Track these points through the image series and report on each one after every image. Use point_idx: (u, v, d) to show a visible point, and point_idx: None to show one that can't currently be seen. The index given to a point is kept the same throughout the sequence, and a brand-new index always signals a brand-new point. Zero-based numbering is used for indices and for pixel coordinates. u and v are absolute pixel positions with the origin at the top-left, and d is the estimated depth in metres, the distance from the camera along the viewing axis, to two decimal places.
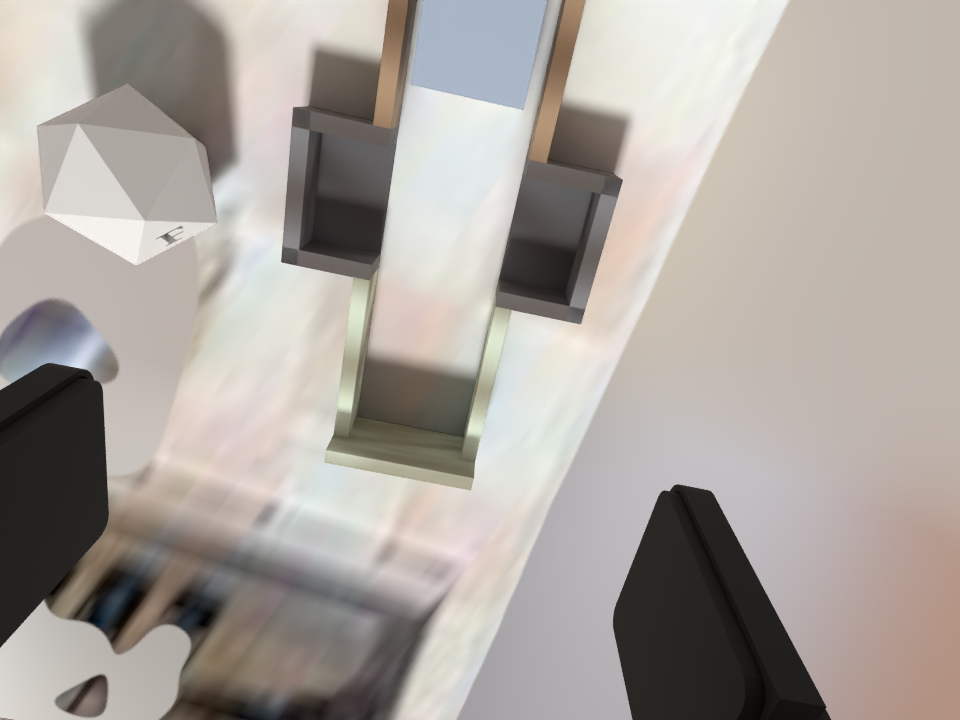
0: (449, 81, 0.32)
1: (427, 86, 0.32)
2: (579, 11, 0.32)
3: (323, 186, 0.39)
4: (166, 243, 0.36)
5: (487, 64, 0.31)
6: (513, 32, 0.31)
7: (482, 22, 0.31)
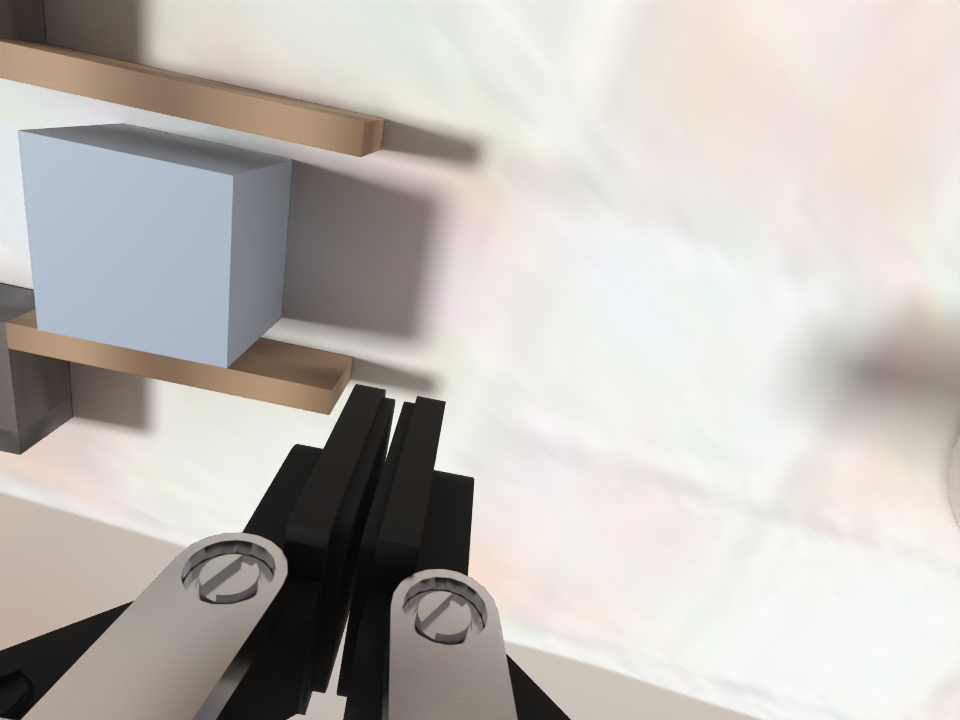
0: (43, 205, 0.18)
1: (24, 163, 0.17)
2: (223, 388, 0.22)
3: None
4: None
5: (88, 271, 0.18)
6: (144, 312, 0.19)
7: (146, 264, 0.18)
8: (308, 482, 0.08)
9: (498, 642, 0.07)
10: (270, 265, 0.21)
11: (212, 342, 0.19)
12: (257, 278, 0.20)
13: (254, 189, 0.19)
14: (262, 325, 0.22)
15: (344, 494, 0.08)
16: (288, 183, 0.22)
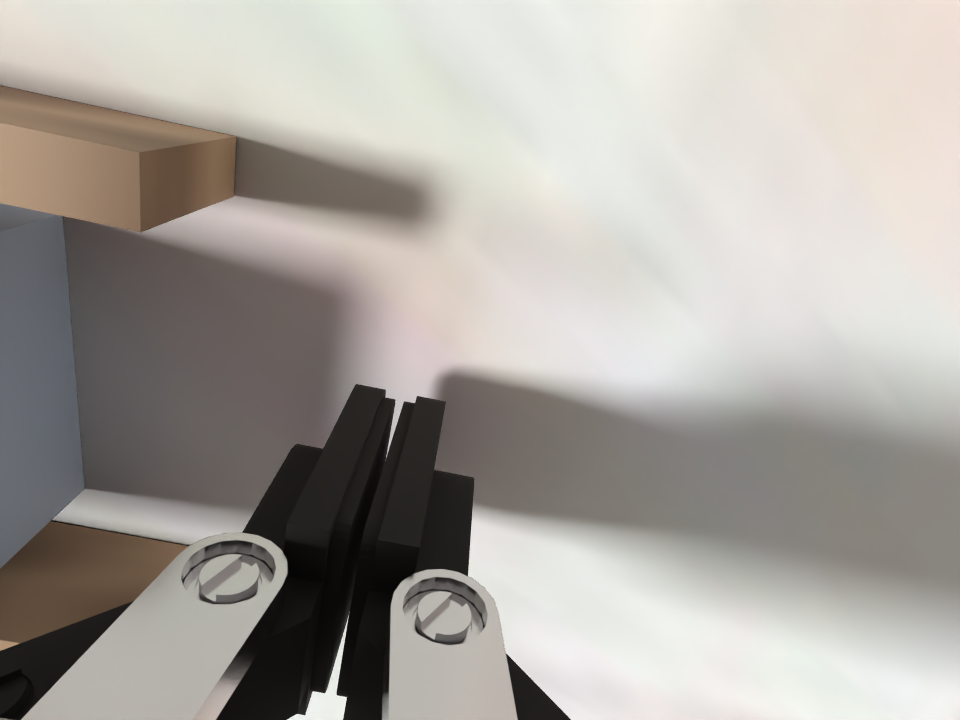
0: None
1: None
2: None
3: None
4: None
5: None
6: None
7: None
8: (308, 482, 0.08)
9: (498, 642, 0.07)
10: (21, 424, 0.11)
11: None
12: None
13: None
14: (17, 533, 0.11)
15: (344, 494, 0.08)
16: (54, 261, 0.11)
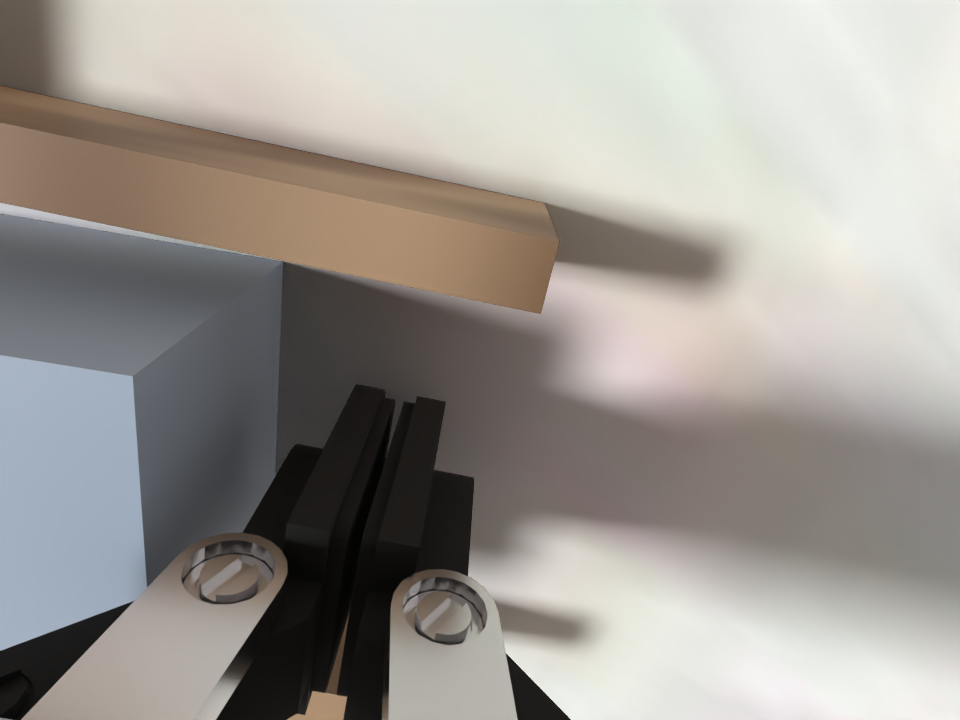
0: None
1: None
2: None
3: None
4: None
5: None
6: None
7: None
8: (308, 482, 0.08)
9: (498, 642, 0.07)
10: (246, 470, 0.11)
11: None
12: (218, 518, 0.10)
13: (199, 367, 0.08)
14: None
15: (344, 494, 0.08)
16: (274, 309, 0.11)
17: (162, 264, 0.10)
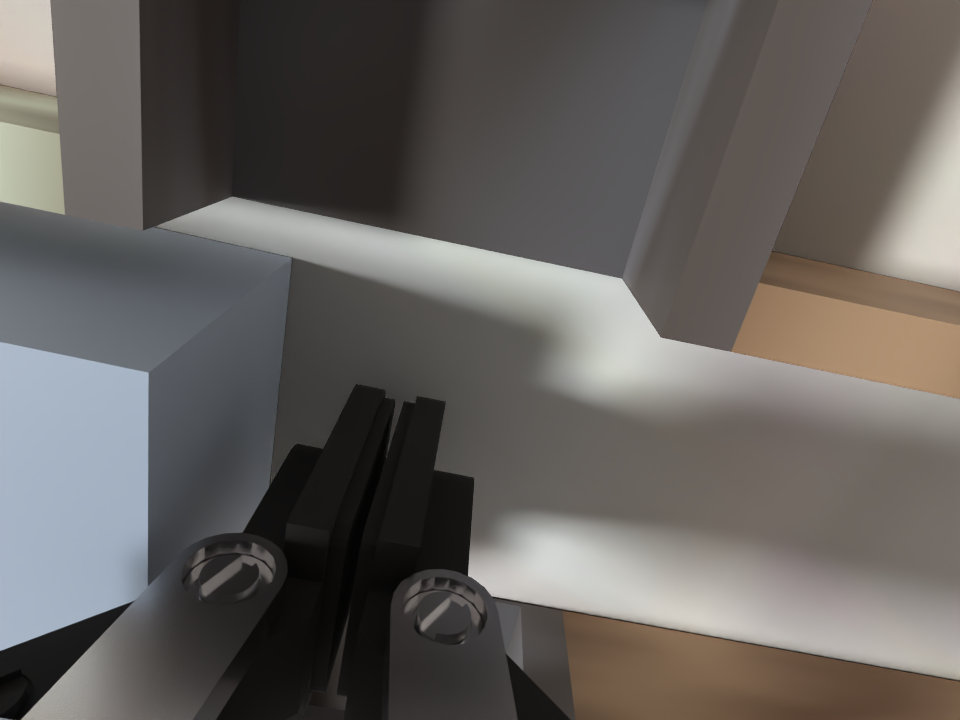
0: None
1: None
2: None
3: None
4: None
5: None
6: None
7: None
8: (308, 482, 0.08)
9: (498, 642, 0.07)
10: (244, 466, 0.11)
11: None
12: (217, 514, 0.10)
13: (209, 362, 0.08)
14: None
15: (344, 494, 0.08)
16: (280, 306, 0.11)
17: (171, 255, 0.10)
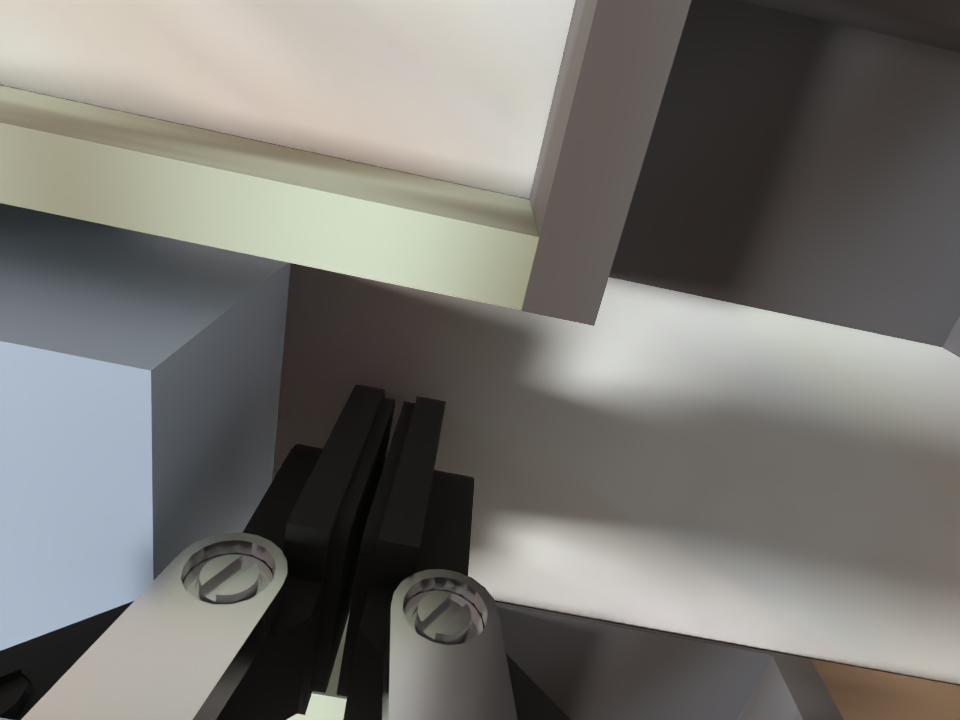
0: None
1: None
2: None
3: (862, 58, 0.09)
4: None
5: None
6: None
7: None
8: (308, 482, 0.08)
9: (498, 642, 0.07)
10: (249, 464, 0.11)
11: None
12: (222, 511, 0.10)
13: (212, 361, 0.08)
14: None
15: (344, 493, 0.08)
16: (282, 305, 0.11)
17: (175, 256, 0.10)
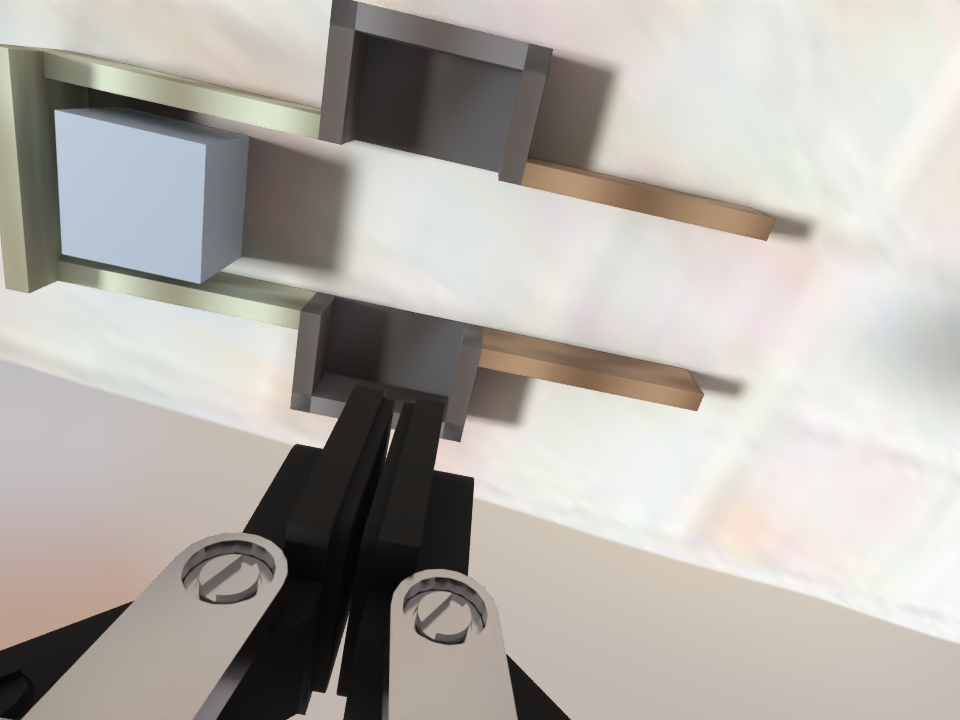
0: (70, 162, 0.25)
1: (58, 132, 0.25)
2: (626, 393, 0.31)
3: (443, 62, 0.28)
4: None
5: (101, 211, 0.26)
6: (141, 242, 0.27)
7: (143, 206, 0.26)
8: (308, 482, 0.08)
9: (498, 642, 0.07)
10: (232, 214, 0.29)
11: (189, 264, 0.27)
12: (222, 222, 0.28)
13: (220, 156, 0.27)
14: (226, 258, 0.30)
15: (344, 494, 0.08)
16: (245, 154, 0.29)
17: (206, 130, 0.28)
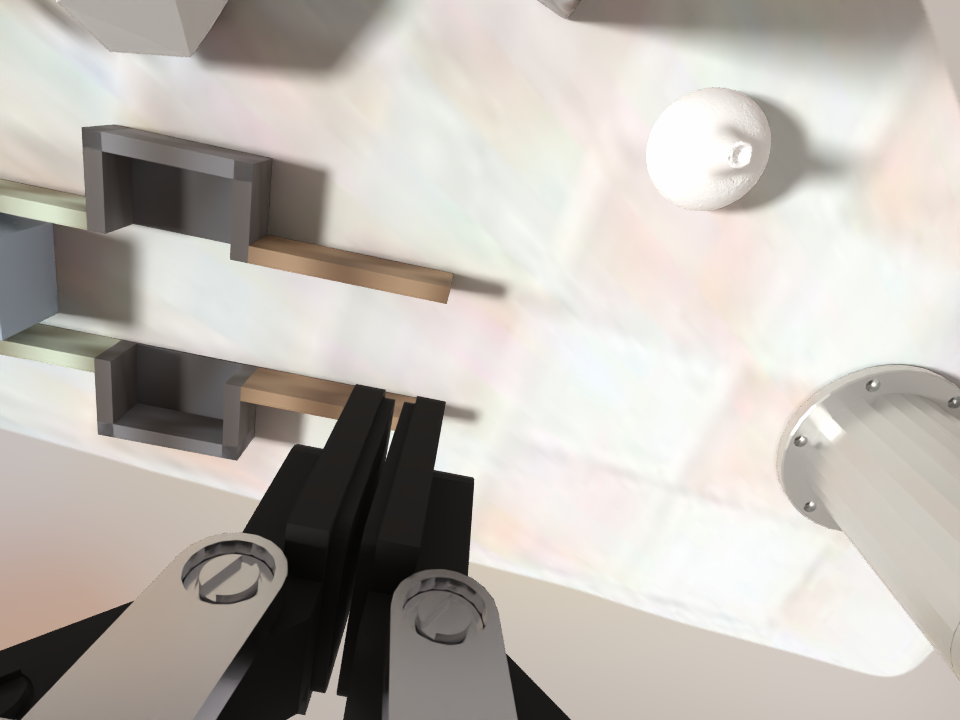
0: None
1: None
2: None
3: None
4: None
5: None
6: None
7: None
8: (308, 482, 0.08)
9: (498, 642, 0.06)
10: (39, 282, 0.37)
11: None
12: (25, 290, 0.36)
13: (14, 243, 0.35)
14: (36, 317, 0.38)
15: (344, 493, 0.08)
16: (50, 235, 0.37)
17: (12, 219, 0.36)
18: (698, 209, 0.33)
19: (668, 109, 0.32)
